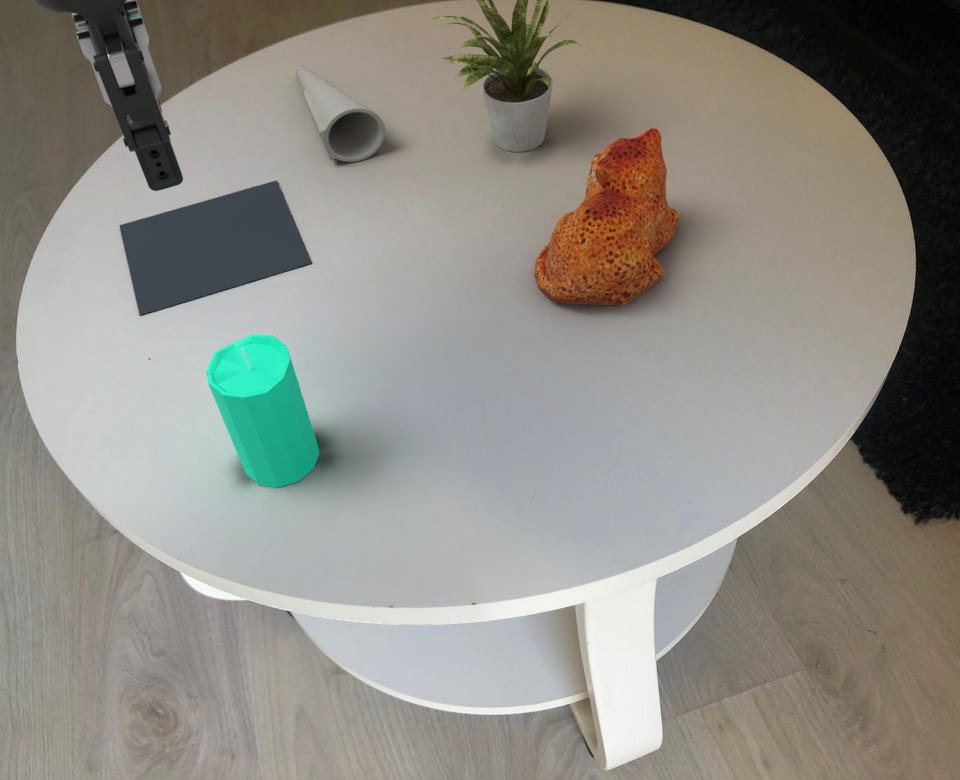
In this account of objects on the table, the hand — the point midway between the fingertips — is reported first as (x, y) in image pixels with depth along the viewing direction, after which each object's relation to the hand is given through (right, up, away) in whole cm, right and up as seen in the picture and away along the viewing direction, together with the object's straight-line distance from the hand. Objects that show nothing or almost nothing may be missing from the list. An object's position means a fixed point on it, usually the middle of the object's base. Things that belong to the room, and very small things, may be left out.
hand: (157, 150), depth 67 cm
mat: (-4, -2, +28) cm, 28 cm away
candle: (+6, -21, +10) cm, 25 cm away
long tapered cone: (+6, +14, +42) cm, 44 cm away
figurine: (+33, -4, +23) cm, 41 cm away
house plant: (+25, +11, +37) cm, 46 cm away
